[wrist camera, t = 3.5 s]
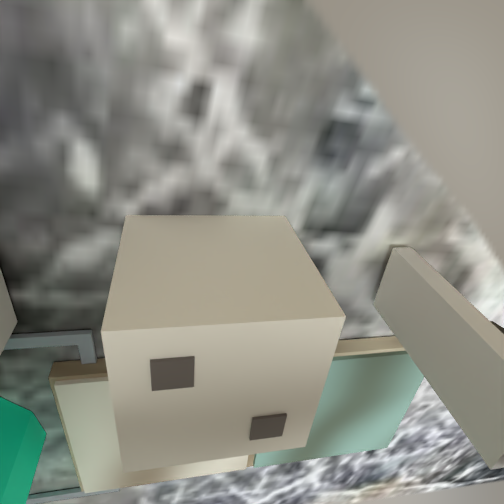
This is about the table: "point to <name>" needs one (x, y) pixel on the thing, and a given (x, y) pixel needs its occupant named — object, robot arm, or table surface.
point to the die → (215, 338)
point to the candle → (18, 451)
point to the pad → (87, 357)
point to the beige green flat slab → (318, 445)
